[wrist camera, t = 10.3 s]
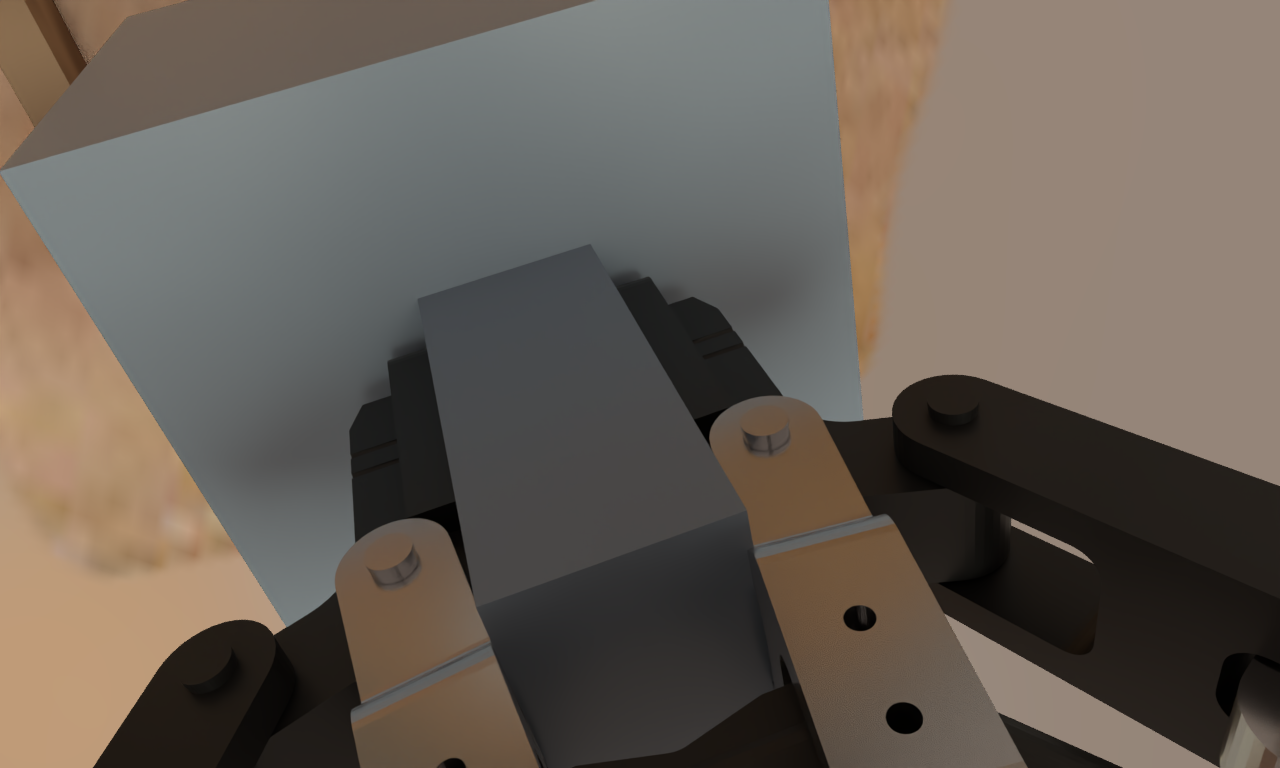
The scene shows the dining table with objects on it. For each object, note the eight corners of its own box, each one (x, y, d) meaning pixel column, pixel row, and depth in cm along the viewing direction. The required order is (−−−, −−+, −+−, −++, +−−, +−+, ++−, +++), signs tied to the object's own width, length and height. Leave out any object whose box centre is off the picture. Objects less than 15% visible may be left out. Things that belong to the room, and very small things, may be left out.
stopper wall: (-71, -119, 27) (-102, -110, 25) (-16, -132, 27) (-43, -124, 25) (162, 299, 35) (152, 331, 33) (202, 287, 35) (195, 318, 33)
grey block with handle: (126, 16, 18) (-266, 490, 6) (635, -121, 19) (1170, 39, 7) (333, 431, 24) (347, 1095, 12) (713, 306, 25) (1079, 792, 13)
